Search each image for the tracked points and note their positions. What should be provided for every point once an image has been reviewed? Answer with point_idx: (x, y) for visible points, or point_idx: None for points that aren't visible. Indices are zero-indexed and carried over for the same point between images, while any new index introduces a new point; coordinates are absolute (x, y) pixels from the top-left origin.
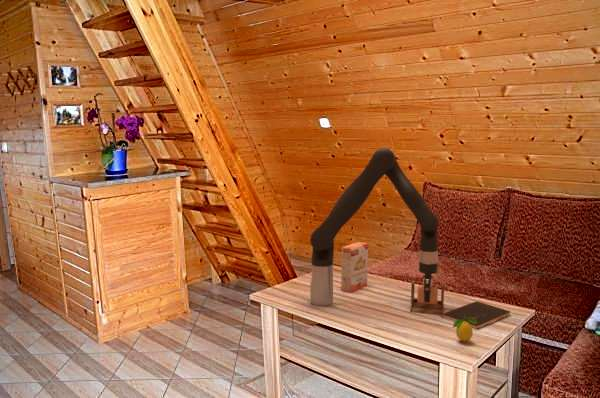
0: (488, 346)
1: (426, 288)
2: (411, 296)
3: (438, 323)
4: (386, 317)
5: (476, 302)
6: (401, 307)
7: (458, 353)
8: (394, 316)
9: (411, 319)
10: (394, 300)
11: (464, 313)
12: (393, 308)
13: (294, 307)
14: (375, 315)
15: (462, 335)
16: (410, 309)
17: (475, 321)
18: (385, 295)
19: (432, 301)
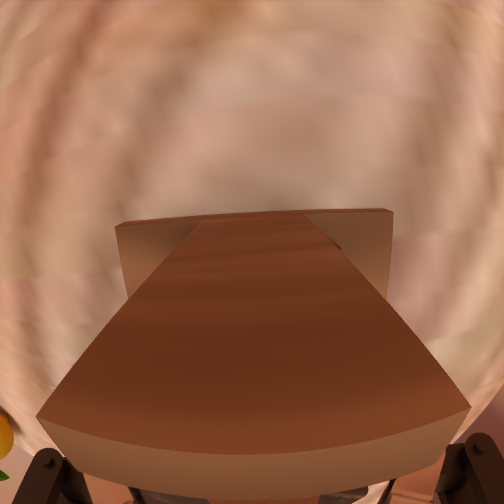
0: (28, 451)
1: (218, 502)
2: (172, 254)
3: (58, 384)
4: (9, 97)
5: (348, 499)
6: (214, 123)
7: None
8: (26, 134)
9: (23, 252)
10: (381, 53)
11: None
12: (167, 66)
13: None
14: (29, 31)
15: None
16: (121, 227)
17: (2, 476)
18: (448, 11)
19: None
